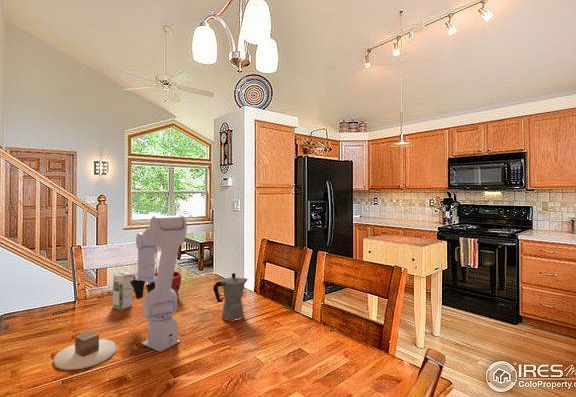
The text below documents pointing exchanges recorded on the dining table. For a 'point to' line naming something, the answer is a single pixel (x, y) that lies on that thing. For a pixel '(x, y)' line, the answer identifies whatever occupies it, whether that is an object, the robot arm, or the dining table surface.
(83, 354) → the walnut block
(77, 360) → the white plate
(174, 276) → the plant pot
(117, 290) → the syrup box
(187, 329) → the dining table surface
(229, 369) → the dining table surface
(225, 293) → the coffeepot
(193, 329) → the dining table surface
